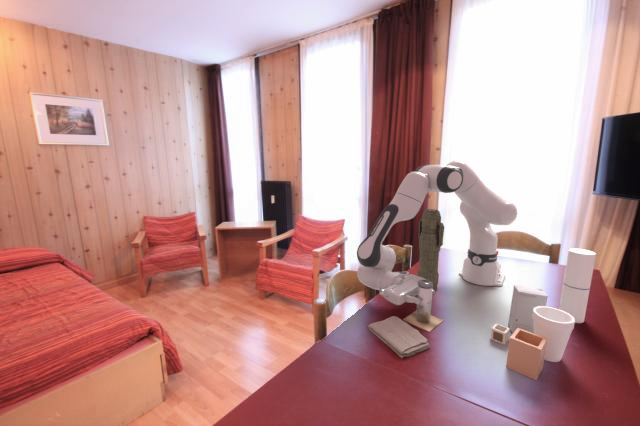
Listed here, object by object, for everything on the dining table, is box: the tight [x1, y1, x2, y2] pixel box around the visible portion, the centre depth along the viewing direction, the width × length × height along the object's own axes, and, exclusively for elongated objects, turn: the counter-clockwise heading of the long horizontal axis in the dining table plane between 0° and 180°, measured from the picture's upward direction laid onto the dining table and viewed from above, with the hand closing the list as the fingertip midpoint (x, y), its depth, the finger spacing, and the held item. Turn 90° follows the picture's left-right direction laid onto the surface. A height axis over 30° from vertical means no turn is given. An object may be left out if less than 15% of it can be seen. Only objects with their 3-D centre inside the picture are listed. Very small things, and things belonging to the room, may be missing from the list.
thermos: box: [416, 208, 445, 291], centre depth 129 cm, size 9×12×35 cm
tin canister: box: [416, 280, 433, 323], centre depth 104 cm, size 5×5×14 cm
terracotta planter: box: [505, 328, 548, 381], centre depth 81 cm, size 7×7×9 cm
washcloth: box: [367, 315, 431, 359], centre depth 95 cm, size 12×18×3 cm, turn 27°
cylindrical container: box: [558, 247, 597, 324], centre depth 104 cm, size 7×7×25 cm
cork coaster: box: [402, 309, 444, 333], centre depth 105 cm, size 10×10×1 cm
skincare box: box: [507, 284, 549, 334], centre depth 97 cm, size 8×6×15 cm
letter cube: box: [489, 322, 511, 346], centre depth 94 cm, size 4×4×4 cm
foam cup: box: [532, 305, 576, 363], centre depth 85 cm, size 10×9×13 cm
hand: (427, 297), depth 102 cm, fingers open, 8 cm apart
